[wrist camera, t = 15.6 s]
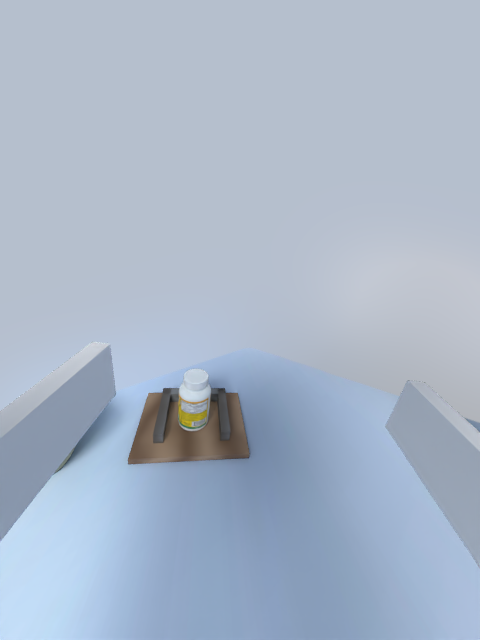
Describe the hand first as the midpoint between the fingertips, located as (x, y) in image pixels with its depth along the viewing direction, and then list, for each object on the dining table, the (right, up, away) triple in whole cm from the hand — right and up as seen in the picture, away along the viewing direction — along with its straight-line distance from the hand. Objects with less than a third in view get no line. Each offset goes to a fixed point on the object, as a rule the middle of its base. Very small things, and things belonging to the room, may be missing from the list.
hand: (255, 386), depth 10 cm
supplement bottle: (-9, -15, +31) cm, 35 cm away
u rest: (-9, -16, +31) cm, 36 cm away
